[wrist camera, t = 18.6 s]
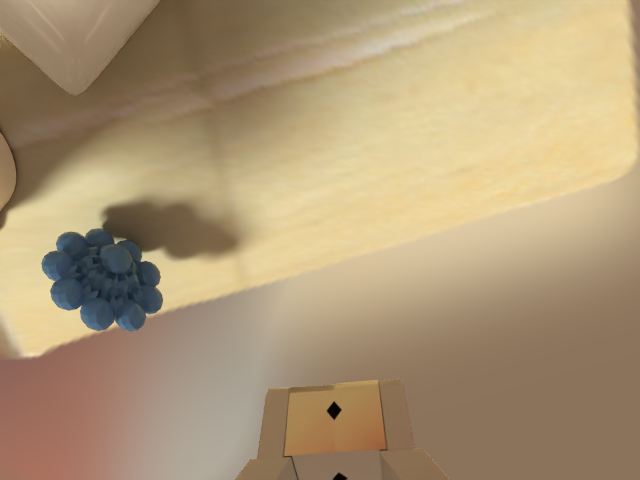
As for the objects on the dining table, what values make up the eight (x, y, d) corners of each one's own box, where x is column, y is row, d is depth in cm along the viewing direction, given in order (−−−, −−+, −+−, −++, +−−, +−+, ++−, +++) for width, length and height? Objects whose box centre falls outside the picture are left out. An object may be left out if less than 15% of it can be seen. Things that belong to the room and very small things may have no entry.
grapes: (196, 241, 47) (160, 317, 37) (171, 282, 50) (132, 363, 40) (89, 187, 44) (19, 255, 34) (70, 234, 47) (0, 310, 37)
